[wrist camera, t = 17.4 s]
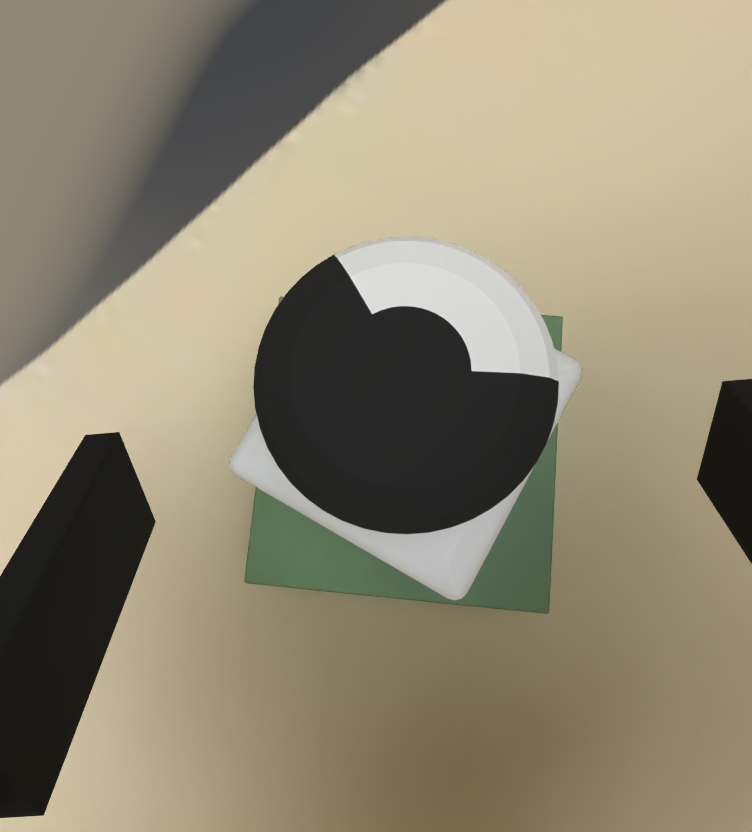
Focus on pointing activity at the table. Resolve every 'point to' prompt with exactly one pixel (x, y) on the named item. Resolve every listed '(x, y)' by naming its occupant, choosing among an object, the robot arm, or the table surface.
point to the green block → (368, 575)
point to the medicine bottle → (405, 403)
